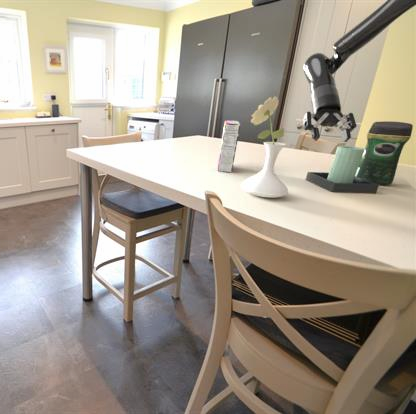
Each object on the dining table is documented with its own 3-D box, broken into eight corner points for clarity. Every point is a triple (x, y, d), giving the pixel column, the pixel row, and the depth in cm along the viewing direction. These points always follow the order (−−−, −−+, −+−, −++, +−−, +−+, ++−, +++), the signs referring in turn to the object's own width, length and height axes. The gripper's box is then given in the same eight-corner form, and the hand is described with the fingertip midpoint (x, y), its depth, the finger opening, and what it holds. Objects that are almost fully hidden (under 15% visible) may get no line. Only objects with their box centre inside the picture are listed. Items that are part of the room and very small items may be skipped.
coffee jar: (389, 181, 91) (414, 121, 84) (392, 187, 85) (419, 123, 78) (350, 176, 97) (371, 119, 90) (351, 181, 91) (373, 121, 84)
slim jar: (341, 181, 88) (353, 146, 84) (356, 187, 83) (370, 149, 79) (321, 180, 88) (333, 145, 84) (335, 186, 83) (348, 149, 79)
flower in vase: (266, 186, 84) (288, 96, 74) (296, 200, 73) (327, 97, 64) (226, 188, 82) (243, 95, 72) (251, 202, 71) (276, 96, 62)
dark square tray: (343, 180, 91) (346, 173, 90) (375, 193, 80) (379, 184, 79) (305, 179, 92) (307, 171, 91) (331, 192, 80) (334, 183, 79)
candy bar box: (217, 164, 109) (224, 120, 103) (231, 165, 107) (239, 120, 101) (216, 171, 99) (225, 123, 93) (232, 173, 98) (241, 123, 91)
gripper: (307, 92, 96) (313, 131, 90) (356, 93, 93) (364, 133, 87) (297, 108, 103) (301, 145, 97) (341, 109, 100) (349, 147, 94)
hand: (331, 139), depth 92 cm, fingers open, 8 cm apart
